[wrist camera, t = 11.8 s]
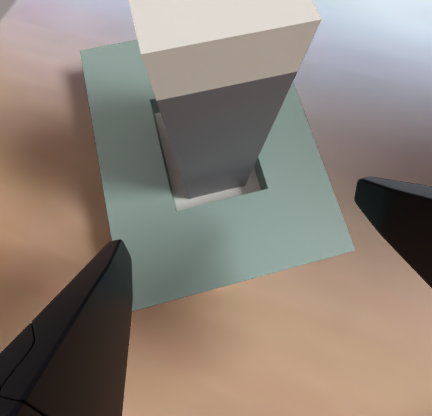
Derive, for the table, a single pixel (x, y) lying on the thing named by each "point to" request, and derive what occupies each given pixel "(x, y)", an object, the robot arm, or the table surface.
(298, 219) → the pocket plate
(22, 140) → the table surface
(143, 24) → the block
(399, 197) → the robot arm
